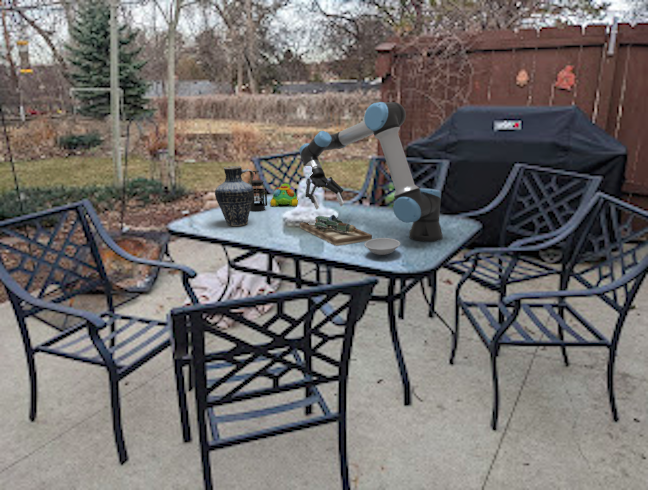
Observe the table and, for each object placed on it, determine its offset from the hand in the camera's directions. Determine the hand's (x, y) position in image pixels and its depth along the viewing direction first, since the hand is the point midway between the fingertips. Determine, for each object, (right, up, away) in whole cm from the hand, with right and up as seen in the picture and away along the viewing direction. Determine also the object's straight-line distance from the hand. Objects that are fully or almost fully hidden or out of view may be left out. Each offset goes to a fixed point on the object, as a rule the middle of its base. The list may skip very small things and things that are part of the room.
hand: (330, 206), depth 240 cm
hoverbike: (+2, -12, +1) cm, 13 cm away
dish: (+21, -23, -31) cm, 44 cm away
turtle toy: (-27, +7, +69) cm, 75 cm away
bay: (+2, -13, +1) cm, 13 cm away
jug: (-48, -8, +20) cm, 53 cm away
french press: (-42, +2, +53) cm, 67 cm away
